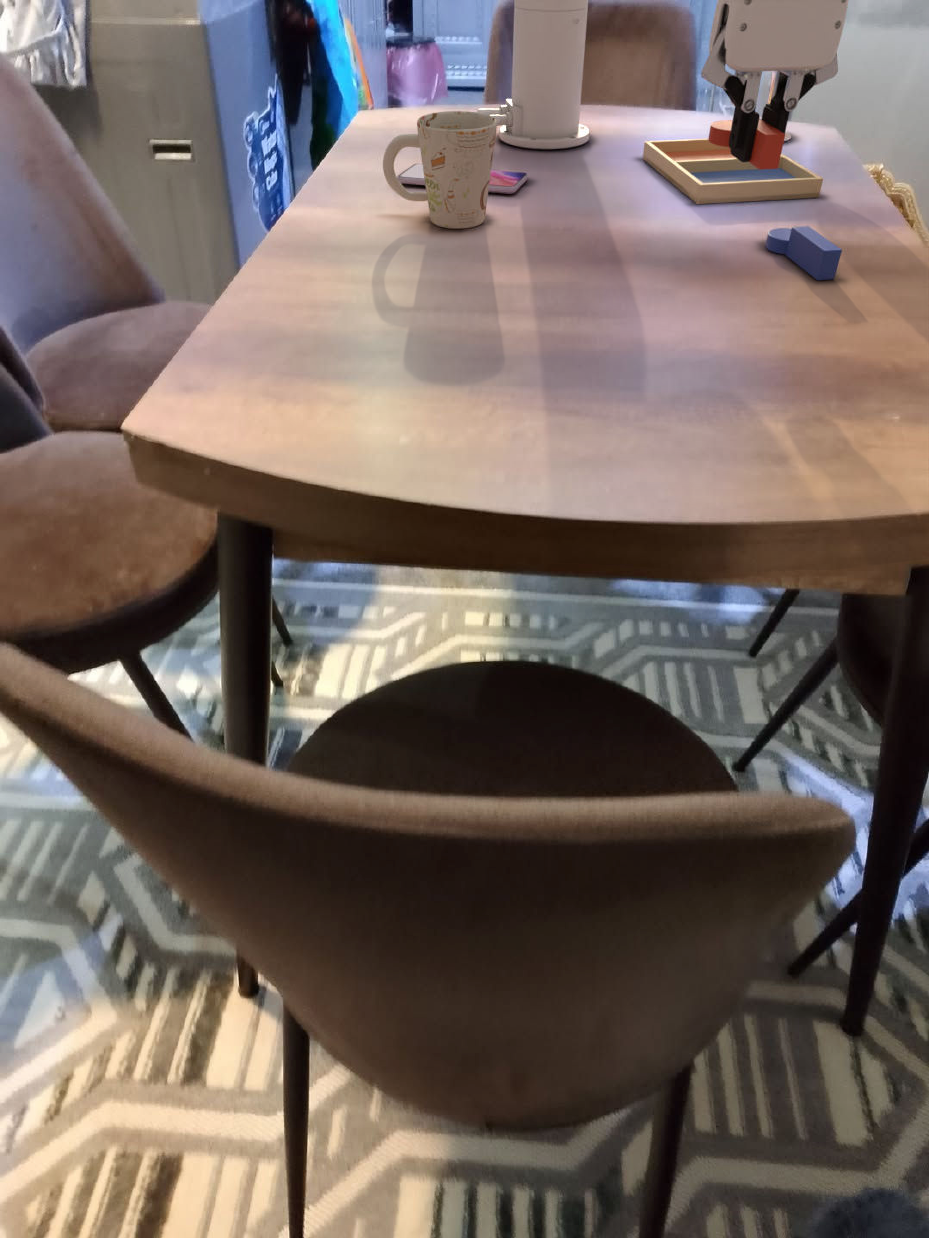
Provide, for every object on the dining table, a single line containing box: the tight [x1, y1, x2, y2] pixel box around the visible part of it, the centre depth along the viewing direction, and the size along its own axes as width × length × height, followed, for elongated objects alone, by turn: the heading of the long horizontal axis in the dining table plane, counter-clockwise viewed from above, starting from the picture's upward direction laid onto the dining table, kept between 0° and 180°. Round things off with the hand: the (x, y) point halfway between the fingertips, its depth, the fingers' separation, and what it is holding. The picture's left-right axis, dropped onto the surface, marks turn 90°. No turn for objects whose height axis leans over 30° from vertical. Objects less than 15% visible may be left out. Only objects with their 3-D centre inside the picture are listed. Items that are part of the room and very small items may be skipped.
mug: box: [382, 110, 498, 230], centre depth 98 cm, size 8×13×10 cm, turn 78°
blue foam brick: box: [764, 225, 843, 281], centre depth 91 cm, size 11×4×3 cm, turn 10°
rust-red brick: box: [708, 117, 785, 170], centre depth 84 cm, size 11×4×3 cm, turn 10°
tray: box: [642, 137, 824, 205], centre depth 113 cm, size 15×20×2 cm
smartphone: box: [396, 163, 529, 195], centre depth 111 cm, size 7×1×15 cm
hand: (752, 156), depth 83 cm, fingers closed on rust-red brick
